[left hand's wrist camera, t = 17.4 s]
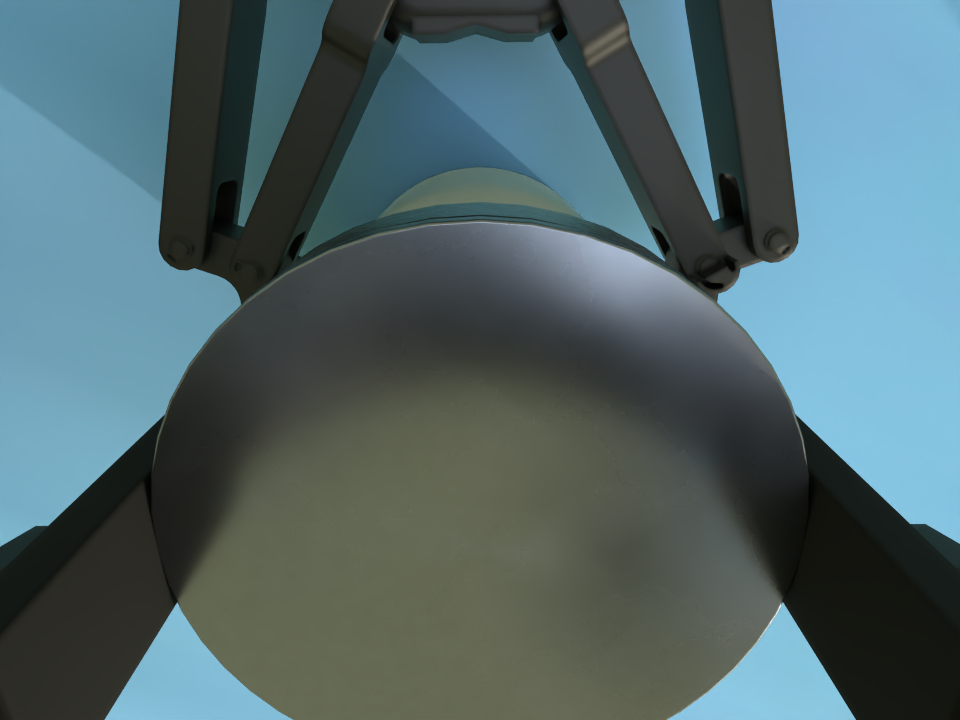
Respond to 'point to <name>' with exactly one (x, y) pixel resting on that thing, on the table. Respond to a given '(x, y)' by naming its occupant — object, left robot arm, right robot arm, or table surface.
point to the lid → (480, 477)
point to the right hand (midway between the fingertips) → (481, 469)
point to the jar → (479, 191)
